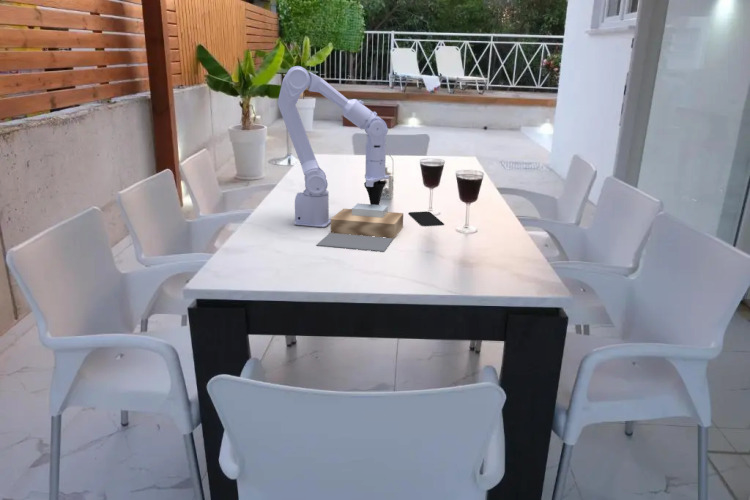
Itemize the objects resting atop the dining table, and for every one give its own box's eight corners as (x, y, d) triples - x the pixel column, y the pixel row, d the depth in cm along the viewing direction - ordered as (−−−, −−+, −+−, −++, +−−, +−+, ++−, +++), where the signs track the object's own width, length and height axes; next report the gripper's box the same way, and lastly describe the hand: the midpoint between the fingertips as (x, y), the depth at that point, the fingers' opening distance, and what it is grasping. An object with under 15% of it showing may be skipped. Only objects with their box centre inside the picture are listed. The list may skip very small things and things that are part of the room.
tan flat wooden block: (330, 232, 164) (330, 218, 162) (343, 221, 175) (343, 208, 173) (394, 238, 159) (394, 224, 158) (402, 226, 171) (403, 213, 169)
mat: (316, 245, 152) (316, 244, 152) (329, 233, 163) (329, 232, 163) (384, 252, 148) (384, 250, 148) (393, 239, 159) (393, 238, 158)
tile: (351, 215, 166) (351, 208, 166) (357, 210, 172) (357, 203, 171) (382, 217, 164) (383, 210, 164) (387, 212, 170) (387, 205, 169)
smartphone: (421, 225, 171) (407, 212, 185) (421, 227, 171) (407, 214, 185) (445, 224, 172) (429, 211, 186) (445, 226, 173) (429, 213, 186)
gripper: (383, 165, 161) (382, 213, 165) (394, 156, 175) (393, 201, 179) (358, 163, 163) (358, 211, 167) (371, 155, 176) (370, 199, 180)
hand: (374, 206), depth 173 cm, fingers closed
